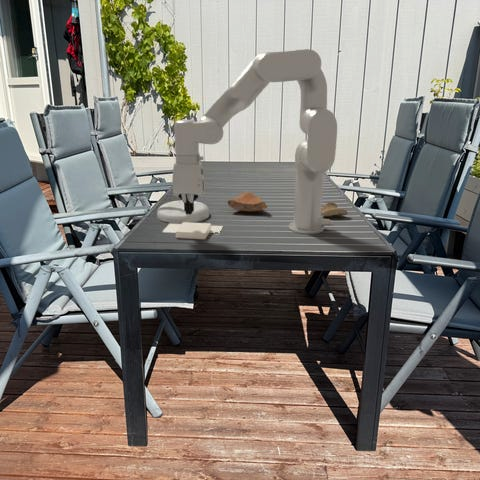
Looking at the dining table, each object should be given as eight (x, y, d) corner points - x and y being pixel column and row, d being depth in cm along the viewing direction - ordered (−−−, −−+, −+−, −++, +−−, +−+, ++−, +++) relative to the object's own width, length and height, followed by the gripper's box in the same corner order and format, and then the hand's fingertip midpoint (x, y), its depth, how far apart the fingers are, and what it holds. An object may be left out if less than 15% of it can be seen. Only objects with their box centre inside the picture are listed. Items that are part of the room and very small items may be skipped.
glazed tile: (210, 223, 160) (183, 222, 162) (205, 233, 151) (175, 231, 152) (210, 230, 161) (183, 228, 163) (205, 240, 152) (175, 238, 153)
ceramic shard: (275, 207, 191) (244, 196, 197) (276, 193, 188) (245, 183, 194) (258, 222, 181) (226, 211, 187) (259, 208, 177) (226, 197, 183)
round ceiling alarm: (228, 220, 181) (228, 205, 179) (181, 236, 164) (180, 220, 162) (186, 207, 197) (185, 193, 194) (138, 221, 179) (137, 206, 177)
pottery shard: (349, 218, 180) (338, 205, 188) (350, 209, 177) (340, 196, 185) (323, 222, 178) (314, 209, 186) (324, 212, 175) (315, 199, 183)
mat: (223, 227, 166) (223, 226, 166) (212, 248, 147) (212, 246, 147) (169, 225, 168) (169, 223, 168) (152, 244, 150) (152, 243, 149)
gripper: (212, 157, 151) (213, 211, 157) (168, 156, 153) (170, 209, 159) (207, 162, 144) (208, 217, 150) (161, 160, 146) (164, 215, 152)
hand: (189, 213), depth 155 cm, fingers closed
